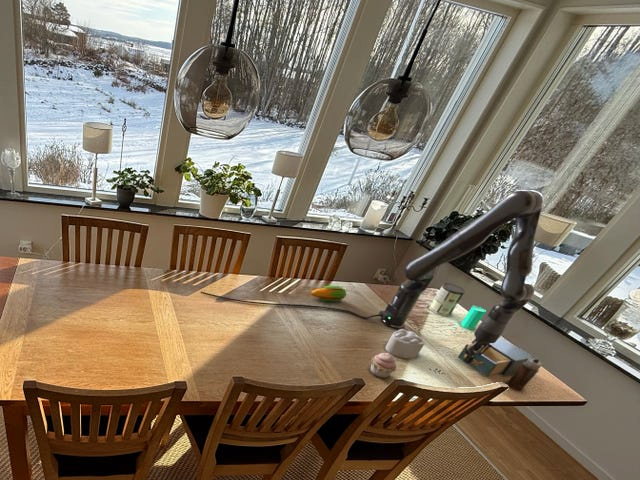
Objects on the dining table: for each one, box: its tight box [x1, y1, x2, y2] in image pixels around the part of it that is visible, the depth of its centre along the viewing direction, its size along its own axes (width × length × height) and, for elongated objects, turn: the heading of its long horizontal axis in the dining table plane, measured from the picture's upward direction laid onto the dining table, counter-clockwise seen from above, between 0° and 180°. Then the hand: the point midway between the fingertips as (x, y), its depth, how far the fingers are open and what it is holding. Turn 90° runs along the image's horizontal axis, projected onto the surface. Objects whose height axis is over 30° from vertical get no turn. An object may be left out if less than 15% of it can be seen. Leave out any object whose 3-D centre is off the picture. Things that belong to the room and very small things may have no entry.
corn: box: [310, 285, 347, 302], centre depth 203 cm, size 7×8×20 cm
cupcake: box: [370, 352, 397, 379], centre depth 155 cm, size 9×9×10 cm
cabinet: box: [490, 336, 535, 377], centre depth 172 cm, size 12×14×8 cm
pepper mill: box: [506, 358, 543, 392], centre depth 158 cm, size 5×5×14 cm
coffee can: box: [428, 282, 466, 317], centre depth 207 cm, size 10×10×14 cm
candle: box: [460, 305, 487, 331], centre depth 197 cm, size 6×6×12 cm
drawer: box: [457, 346, 512, 378], centre depth 168 cm, size 16×13×7 cm
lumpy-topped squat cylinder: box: [385, 328, 426, 359], centre depth 171 cm, size 10×13×9 cm
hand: (466, 362), depth 165 cm, fingers closed
